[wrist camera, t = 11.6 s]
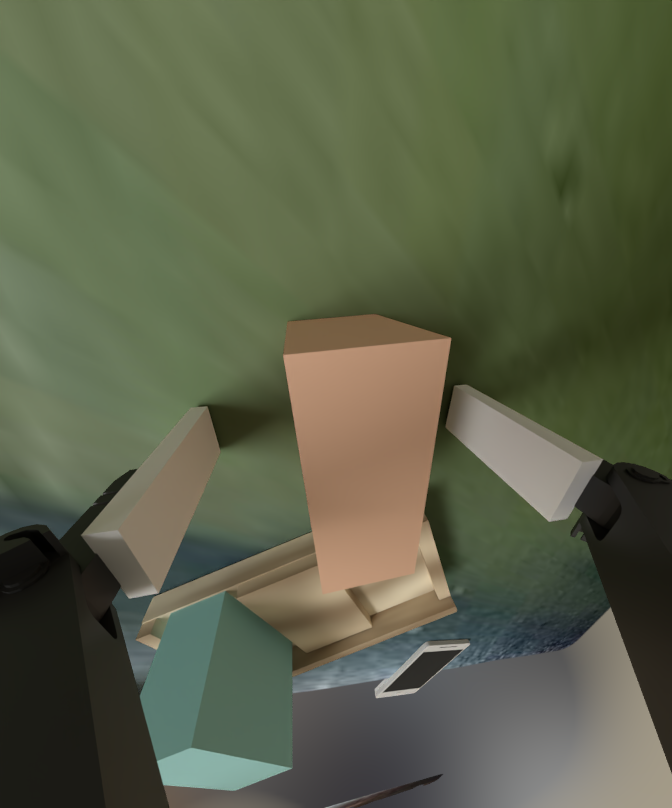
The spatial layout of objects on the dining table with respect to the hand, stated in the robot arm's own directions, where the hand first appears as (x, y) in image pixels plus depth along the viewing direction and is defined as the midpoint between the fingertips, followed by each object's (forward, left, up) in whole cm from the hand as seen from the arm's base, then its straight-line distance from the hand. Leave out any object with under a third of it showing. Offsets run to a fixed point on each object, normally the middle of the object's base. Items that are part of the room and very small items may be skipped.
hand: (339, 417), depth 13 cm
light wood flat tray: (+14, -7, 0) cm, 16 cm away
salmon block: (0, 0, 0) cm, 0 cm away
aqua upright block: (+13, -13, +1) cm, 19 cm away
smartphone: (+43, -4, -1) cm, 43 cm away
